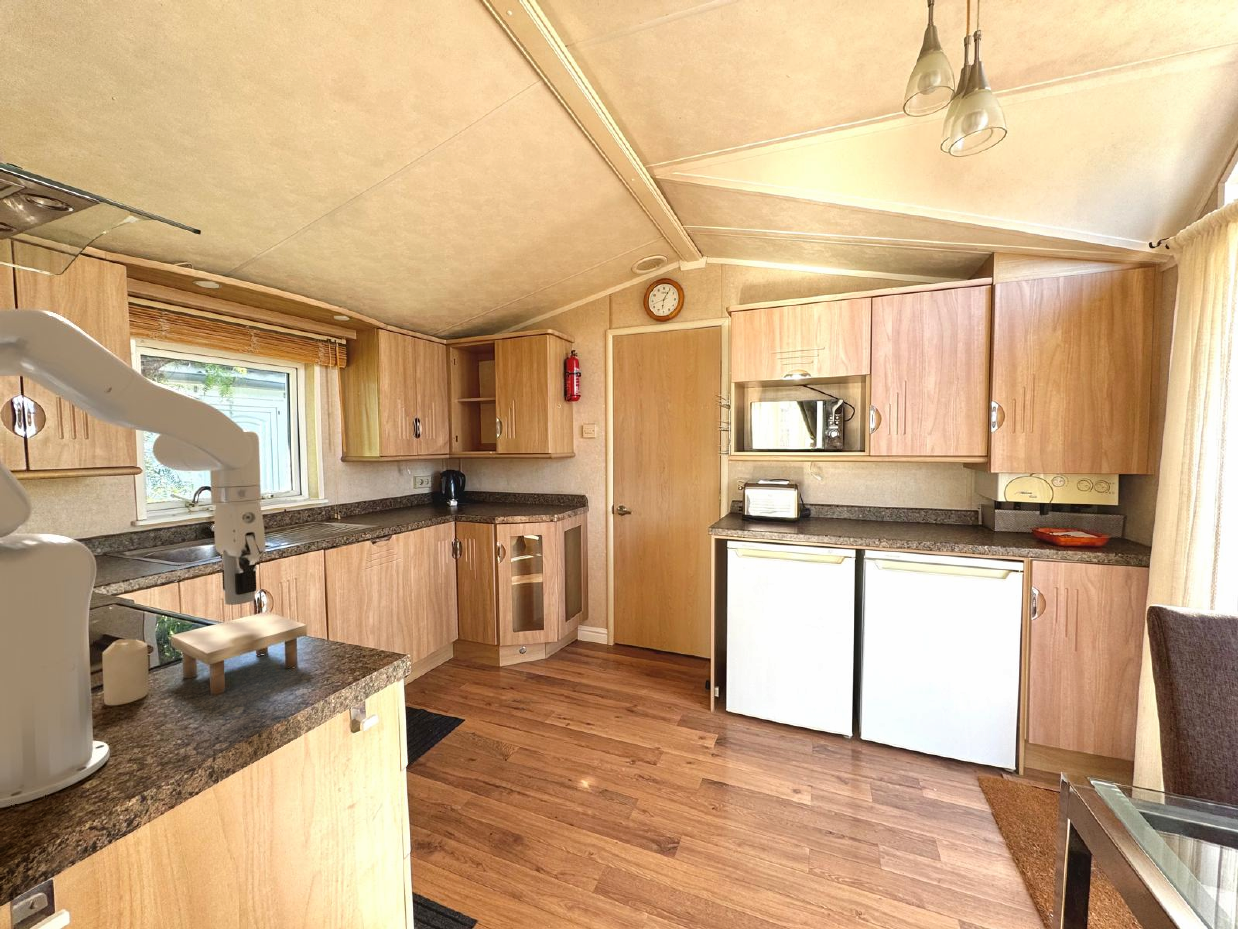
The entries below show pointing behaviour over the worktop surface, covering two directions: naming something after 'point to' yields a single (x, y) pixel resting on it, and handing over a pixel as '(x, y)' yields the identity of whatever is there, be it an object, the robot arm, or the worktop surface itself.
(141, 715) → the worktop surface
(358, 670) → the worktop surface
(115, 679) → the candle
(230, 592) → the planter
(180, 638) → the stool
